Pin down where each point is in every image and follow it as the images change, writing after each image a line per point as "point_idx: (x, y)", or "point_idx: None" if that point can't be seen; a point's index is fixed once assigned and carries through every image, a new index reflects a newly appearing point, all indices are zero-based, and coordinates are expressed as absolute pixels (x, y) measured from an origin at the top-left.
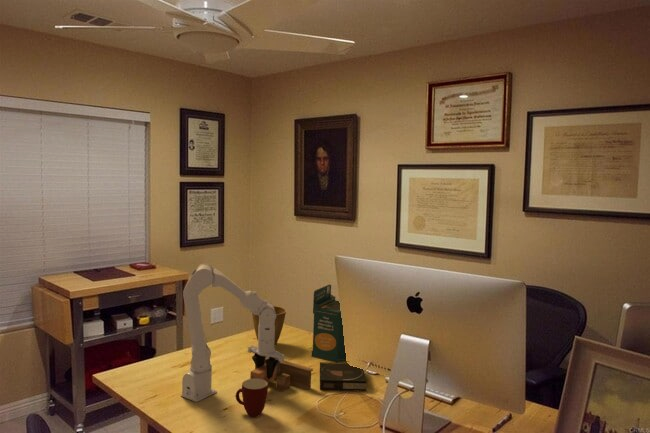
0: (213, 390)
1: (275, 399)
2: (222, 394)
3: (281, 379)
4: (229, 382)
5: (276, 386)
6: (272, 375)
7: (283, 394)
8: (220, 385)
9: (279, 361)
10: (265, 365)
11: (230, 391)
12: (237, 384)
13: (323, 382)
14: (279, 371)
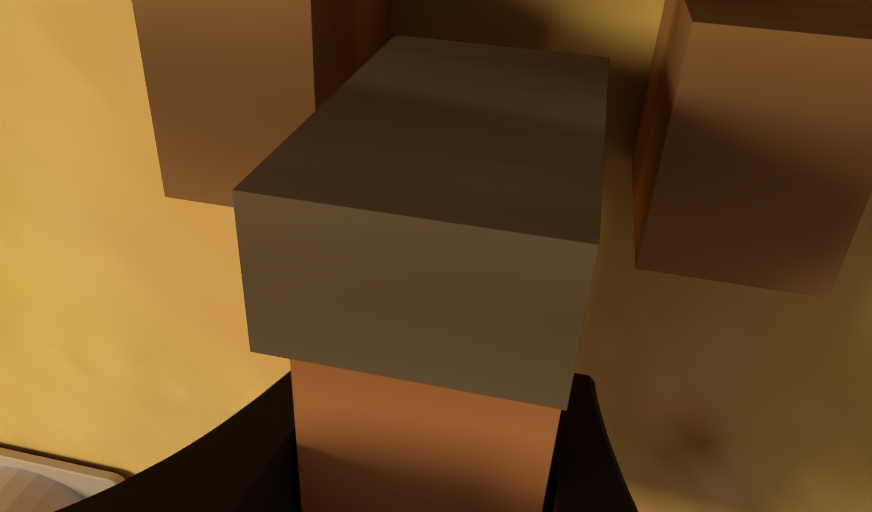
0: (92, 488)
1: (763, 412)
2: None
3: (765, 276)
4: (12, 257)
5: (633, 179)
6: (594, 403)
7: None
8: (20, 350)
9: (594, 259)
10: (352, 477)
11: (198, 418)
12: (114, 262)
13: None
14: (604, 108)
